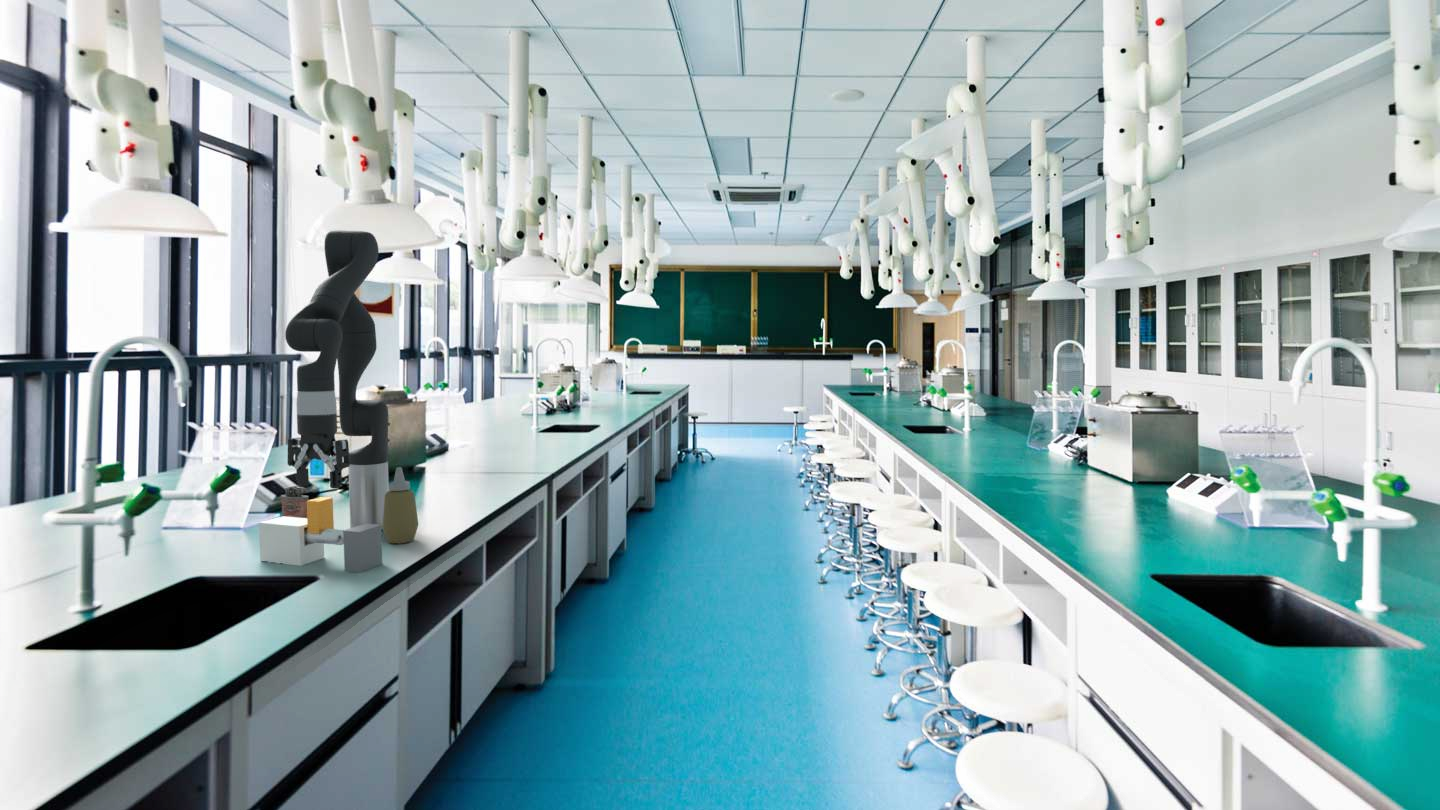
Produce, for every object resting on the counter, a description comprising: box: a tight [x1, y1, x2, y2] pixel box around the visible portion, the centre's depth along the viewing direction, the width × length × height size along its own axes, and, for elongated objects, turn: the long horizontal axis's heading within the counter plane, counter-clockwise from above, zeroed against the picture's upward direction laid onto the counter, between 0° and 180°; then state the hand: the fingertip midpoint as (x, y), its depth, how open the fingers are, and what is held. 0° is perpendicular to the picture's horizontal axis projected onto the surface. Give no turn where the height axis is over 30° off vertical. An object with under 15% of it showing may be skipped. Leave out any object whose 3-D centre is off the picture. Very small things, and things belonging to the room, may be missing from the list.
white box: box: [258, 516, 325, 567], centre depth 162 cm, size 11×6×9 cm, turn 74°
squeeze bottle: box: [382, 466, 419, 545], centre depth 178 cm, size 8×8×18 cm
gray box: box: [343, 524, 383, 573], centre depth 157 cm, size 4×6×9 cm, turn 164°
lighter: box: [280, 485, 310, 518], centre depth 194 cm, size 8×3×10 cm, turn 73°
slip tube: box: [304, 496, 345, 546], centre depth 161 cm, size 18×4×10 cm, turn 74°
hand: (319, 486), depth 159 cm, fingers open, 8 cm apart
